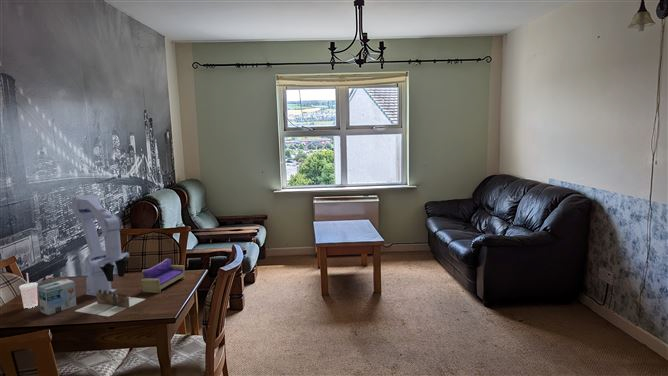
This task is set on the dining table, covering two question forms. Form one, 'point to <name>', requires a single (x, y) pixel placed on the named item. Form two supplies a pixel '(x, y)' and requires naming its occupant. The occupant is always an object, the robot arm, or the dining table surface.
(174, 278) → the toy sofa
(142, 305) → the dining table surface
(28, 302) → the beverage cup
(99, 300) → the fence flap
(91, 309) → the card
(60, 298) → the light bulb box
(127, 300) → the fixed fence rail
